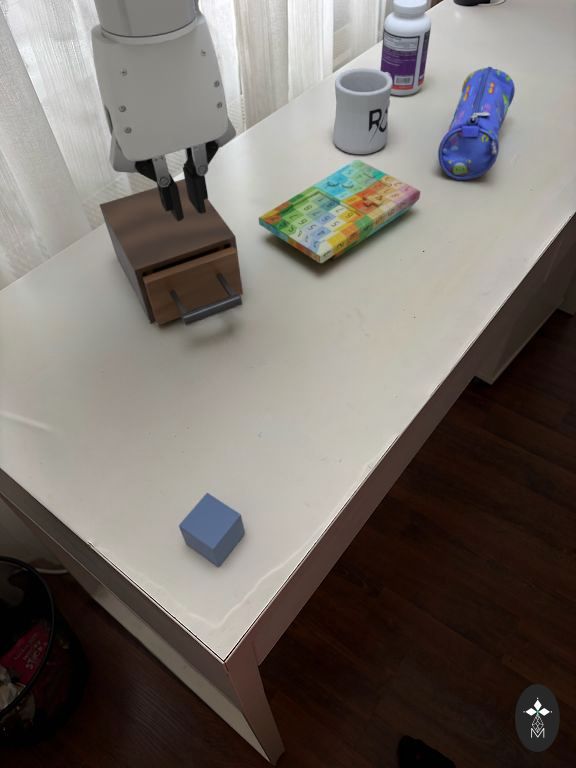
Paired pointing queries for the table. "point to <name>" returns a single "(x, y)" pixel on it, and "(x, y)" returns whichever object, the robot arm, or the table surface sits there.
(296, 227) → the puzzle game
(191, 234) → the cabinet
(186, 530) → the block
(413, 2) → the pill bottle
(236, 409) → the table surface
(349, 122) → the mug
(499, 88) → the pencil case
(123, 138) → the robot arm
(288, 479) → the table surface
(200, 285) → the drawer
